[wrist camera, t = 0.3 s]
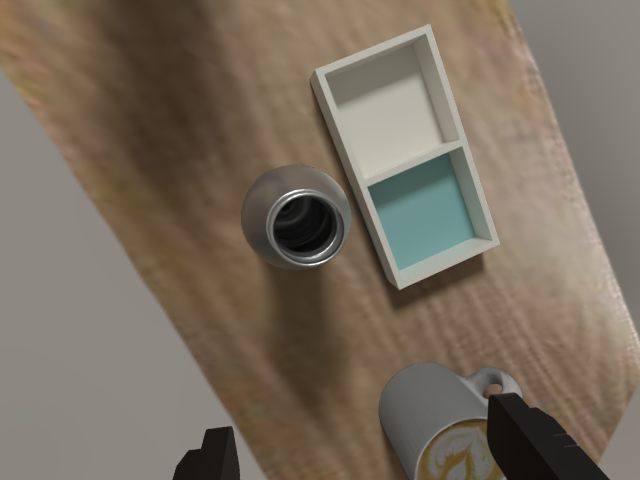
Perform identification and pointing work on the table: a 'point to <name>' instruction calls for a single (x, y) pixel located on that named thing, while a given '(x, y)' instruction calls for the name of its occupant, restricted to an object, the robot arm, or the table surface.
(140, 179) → the table surface
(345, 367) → the table surface
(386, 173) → the divided tray
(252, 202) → the grey metal bottle
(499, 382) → the coffee mug
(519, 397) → the robot arm
